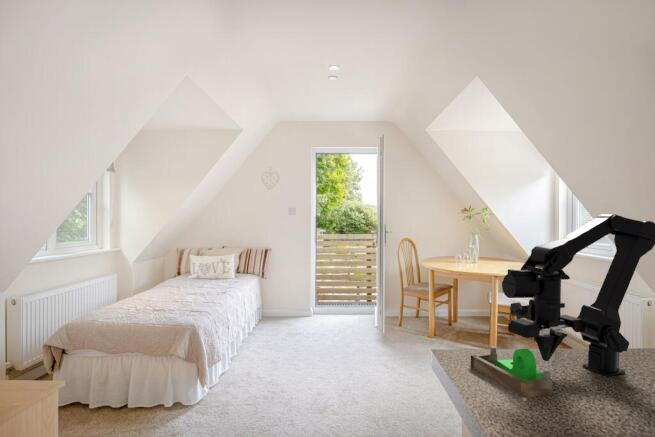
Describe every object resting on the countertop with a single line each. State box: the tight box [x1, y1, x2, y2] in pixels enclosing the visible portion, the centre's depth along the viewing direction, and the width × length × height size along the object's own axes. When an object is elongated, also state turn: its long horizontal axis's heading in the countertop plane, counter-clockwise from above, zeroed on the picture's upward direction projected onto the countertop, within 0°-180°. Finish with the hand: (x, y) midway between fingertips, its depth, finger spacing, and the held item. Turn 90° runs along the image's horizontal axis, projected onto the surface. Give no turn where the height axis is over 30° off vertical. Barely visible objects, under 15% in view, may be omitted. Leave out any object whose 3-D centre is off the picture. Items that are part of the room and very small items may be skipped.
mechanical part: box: [496, 348, 553, 388], centre depth 93 cm, size 12×6×8 cm, turn 9°
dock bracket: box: [470, 346, 553, 399], centre depth 91 cm, size 7×18×4 cm, turn 18°
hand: (545, 360), depth 95 cm, fingers closed
